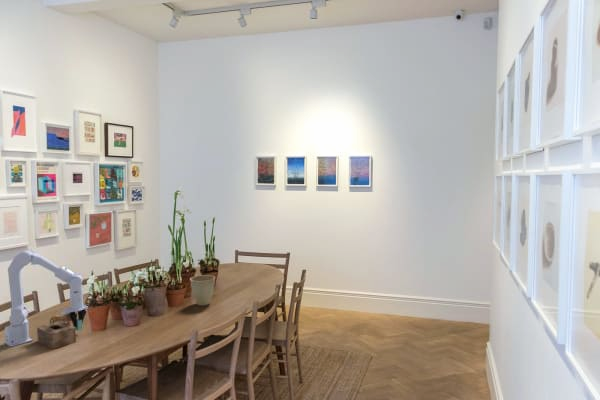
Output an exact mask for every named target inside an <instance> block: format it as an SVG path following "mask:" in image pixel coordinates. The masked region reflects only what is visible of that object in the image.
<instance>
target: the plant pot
mask: <svg viewBox="0 0 600 400" xmlns="http://www.w3.org/2000/svg"><path fill="white" fill-rule="evenodd" d="M215 281H216V277H215V276H214V275H209V274H208V275H207V274H206V275H205V274H204V275H196V276H192V277H190V278H189V282H190V286H191V287H190V288H191V291H192V294H193V298H194V301H195V302H196V304H197V306H207V305H209V304H210V302H211V300H212V297H213V293H214V288H215Z"/></svg>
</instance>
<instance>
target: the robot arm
mask: <svg viewBox="0 0 600 400" xmlns="http://www.w3.org/2000/svg"><path fill="white" fill-rule="evenodd" d="M29 264H30V265H32V266H33V265H36V266H37V265H38V266H41V267H43V268H44V269H47V270H48V271H50V272H52V273H54V277H56V278H57V279H59V280H60V281H62V282H64V283H66V284H68V286H69V300H70V303H69V304H70V307H69V308H65V310H60V314H61V315H66V314H68V315H69V316H70V318H71V320H72V321H71V322H72V326H73V327H77V318H78V319H81V320H82V324H83V322H84V319H85V316H86V314H87V310H89V309H88V306H86V305H87V304H84V290H83V281H84V280H83V277H82V275H81V274H79V273H77V272H73V271H72V270H70V269H68V267H67V266H58V265H56V264H55V263H53V262H52V261H50V260H49V259H47V258H46V257H44V256H43V255H41V254H39V253H38V252H36V251H35V252H34V251H33V250H32V249H24V250H22V251H21V252H20V253H18V254H17V255H16V256H14V258H13V259H12V261H11V263H10V264H9V266H8V268H7V273H8V274H7V275H8V282H9V283H8V285H9V293H10V302H11V309H10V315H9V318H8V320H9V325H7V326H5V328H4V344H5V345H7V346H9V347H15V346H17V345H22V344H25V343H28V342H29V343H30V342H32V341H33V339H32V338H30V334H29V333H30V332H29V331H30V329H29V320H28V318H27V317H28V316H29V310H28V309H27V307H26V303H25V301H24V300H25V299H24V292H23V290H24V289H23V284H22V283H23V282H22V272H21V271H22V269H23V268H24V267H26V266H27V265H29ZM75 312H77V314H76V313H75Z"/></svg>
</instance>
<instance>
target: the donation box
mask: <svg viewBox="0 0 600 400" xmlns="http://www.w3.org/2000/svg"><path fill="white" fill-rule="evenodd" d="M49 323H50V322H49ZM49 323H46V324H43V325H38V326H37V327H36V329H37V333H36V334H37V342H39V343H40V344H42V345H44V346H45V347H47V348H49V349H51V350H53V349H57V348H59V347H62V346H66V345H69V344H73V343H76V342H77V341H76V340H77V337H76V334H77V333H76V330H75V327H74V325H71V324H70V325H69V324H67V322H63V321H57V322H54V323H52V322H51V323H50V324H49Z"/></svg>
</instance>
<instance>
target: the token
mask: <svg viewBox="0 0 600 400" xmlns="http://www.w3.org/2000/svg"><path fill="white" fill-rule="evenodd" d="M75 331H78V332H79V331H80V332H81V331H83V323H82V320H81V319H79V318H78V317H77V327H75Z"/></svg>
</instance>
